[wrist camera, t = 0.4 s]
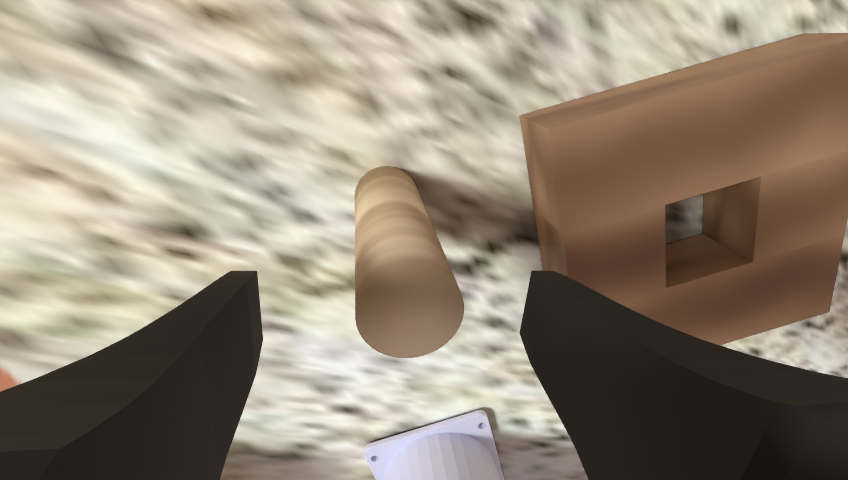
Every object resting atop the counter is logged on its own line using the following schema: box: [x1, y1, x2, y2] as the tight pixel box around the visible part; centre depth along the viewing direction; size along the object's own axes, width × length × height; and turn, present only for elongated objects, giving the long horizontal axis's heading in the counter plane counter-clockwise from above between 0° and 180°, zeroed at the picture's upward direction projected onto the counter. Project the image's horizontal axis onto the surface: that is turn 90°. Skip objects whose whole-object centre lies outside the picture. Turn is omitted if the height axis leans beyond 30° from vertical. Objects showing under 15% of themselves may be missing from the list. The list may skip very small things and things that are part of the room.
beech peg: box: [355, 166, 464, 358], centre depth 17 cm, size 3×3×10 cm
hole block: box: [520, 33, 848, 345], centre depth 22 cm, size 14×14×4 cm
